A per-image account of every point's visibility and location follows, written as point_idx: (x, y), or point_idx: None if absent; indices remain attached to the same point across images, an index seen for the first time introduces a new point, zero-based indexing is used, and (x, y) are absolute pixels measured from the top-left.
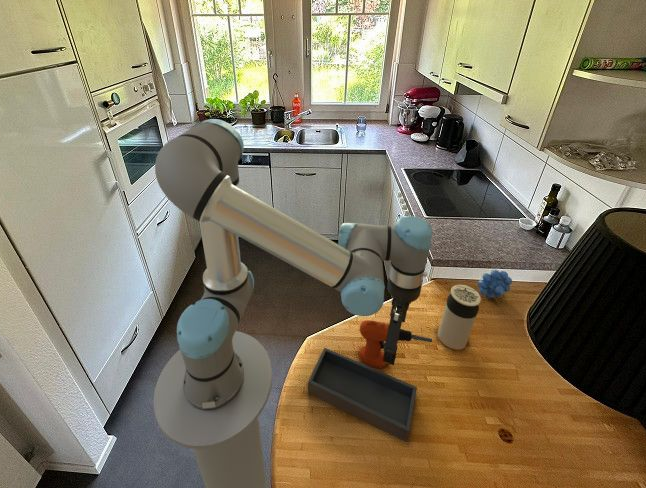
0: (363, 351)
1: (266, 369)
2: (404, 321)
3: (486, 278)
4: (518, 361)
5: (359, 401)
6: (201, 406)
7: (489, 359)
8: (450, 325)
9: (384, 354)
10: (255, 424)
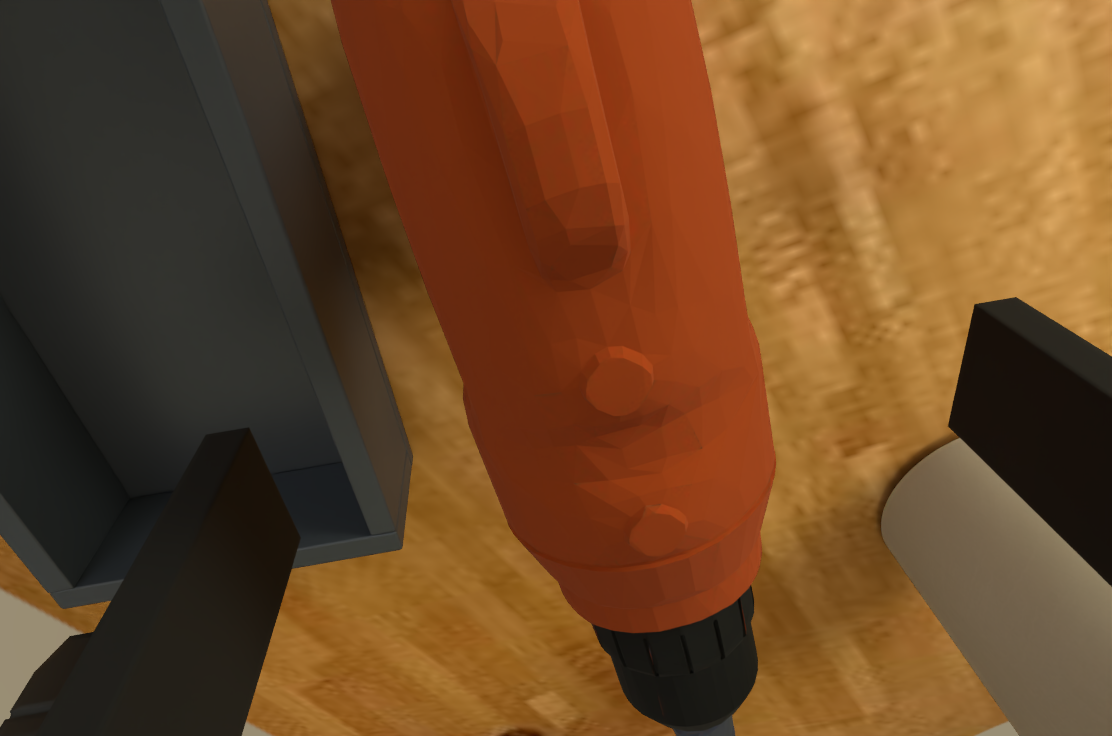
0: None
1: None
2: (964, 439)
3: None
4: (911, 715)
5: (27, 167)
6: None
7: (878, 646)
8: (1039, 662)
9: (150, 550)
10: None
